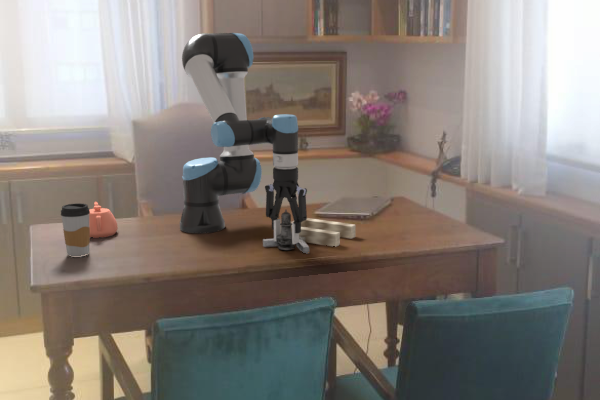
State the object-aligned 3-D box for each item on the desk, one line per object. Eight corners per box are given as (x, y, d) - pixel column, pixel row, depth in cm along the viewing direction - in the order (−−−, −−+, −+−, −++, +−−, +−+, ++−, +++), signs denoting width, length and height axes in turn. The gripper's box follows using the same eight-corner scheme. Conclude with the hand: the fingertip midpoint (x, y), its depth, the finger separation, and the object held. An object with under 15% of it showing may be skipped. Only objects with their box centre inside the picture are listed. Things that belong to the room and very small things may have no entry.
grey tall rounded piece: (293, 250, 224) (293, 212, 221) (274, 249, 225) (274, 211, 222) (297, 245, 229) (297, 207, 227) (279, 244, 230) (278, 206, 228)
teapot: (80, 242, 237) (78, 213, 235) (79, 228, 253) (77, 201, 251) (119, 238, 240) (117, 210, 238) (116, 225, 257) (114, 198, 255)
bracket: (280, 238, 239) (280, 226, 238) (302, 228, 250) (302, 217, 249) (335, 246, 229) (335, 234, 228) (355, 236, 240) (355, 224, 239)
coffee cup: (82, 249, 228) (78, 201, 225) (98, 254, 223) (95, 205, 220) (58, 255, 222) (54, 206, 219) (74, 260, 217) (70, 210, 214)
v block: (277, 239, 238) (277, 233, 238) (323, 246, 230) (323, 240, 229) (260, 246, 230) (260, 240, 229) (307, 254, 221) (307, 247, 221)
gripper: (252, 166, 223) (253, 240, 228) (306, 171, 214) (306, 249, 219) (266, 162, 229) (267, 234, 235) (319, 167, 220) (319, 242, 225)
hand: (286, 241), depth 227 cm, fingers closed on grey tall rounded piece, 6 cm apart
